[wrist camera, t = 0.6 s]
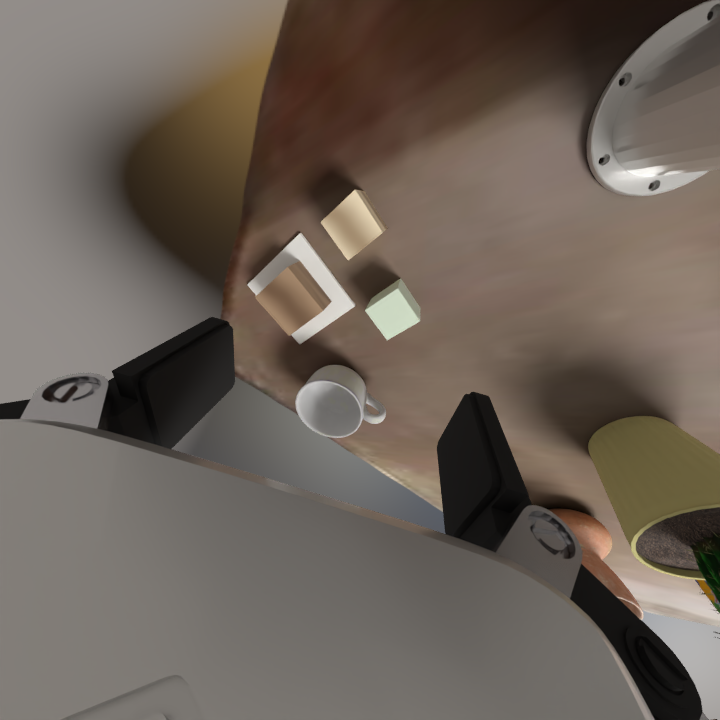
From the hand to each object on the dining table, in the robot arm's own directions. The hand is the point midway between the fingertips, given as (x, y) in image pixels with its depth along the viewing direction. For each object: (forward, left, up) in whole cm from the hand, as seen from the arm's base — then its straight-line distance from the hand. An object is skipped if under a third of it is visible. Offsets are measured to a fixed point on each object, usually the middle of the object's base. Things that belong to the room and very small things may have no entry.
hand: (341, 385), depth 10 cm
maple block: (+2, -6, -29) cm, 29 cm away
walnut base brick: (+15, -4, -28) cm, 32 cm away
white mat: (+15, -4, -28) cm, 32 cm away
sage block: (+4, +5, -29) cm, 29 cm away
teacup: (+19, +13, -29) cm, 36 cm away
